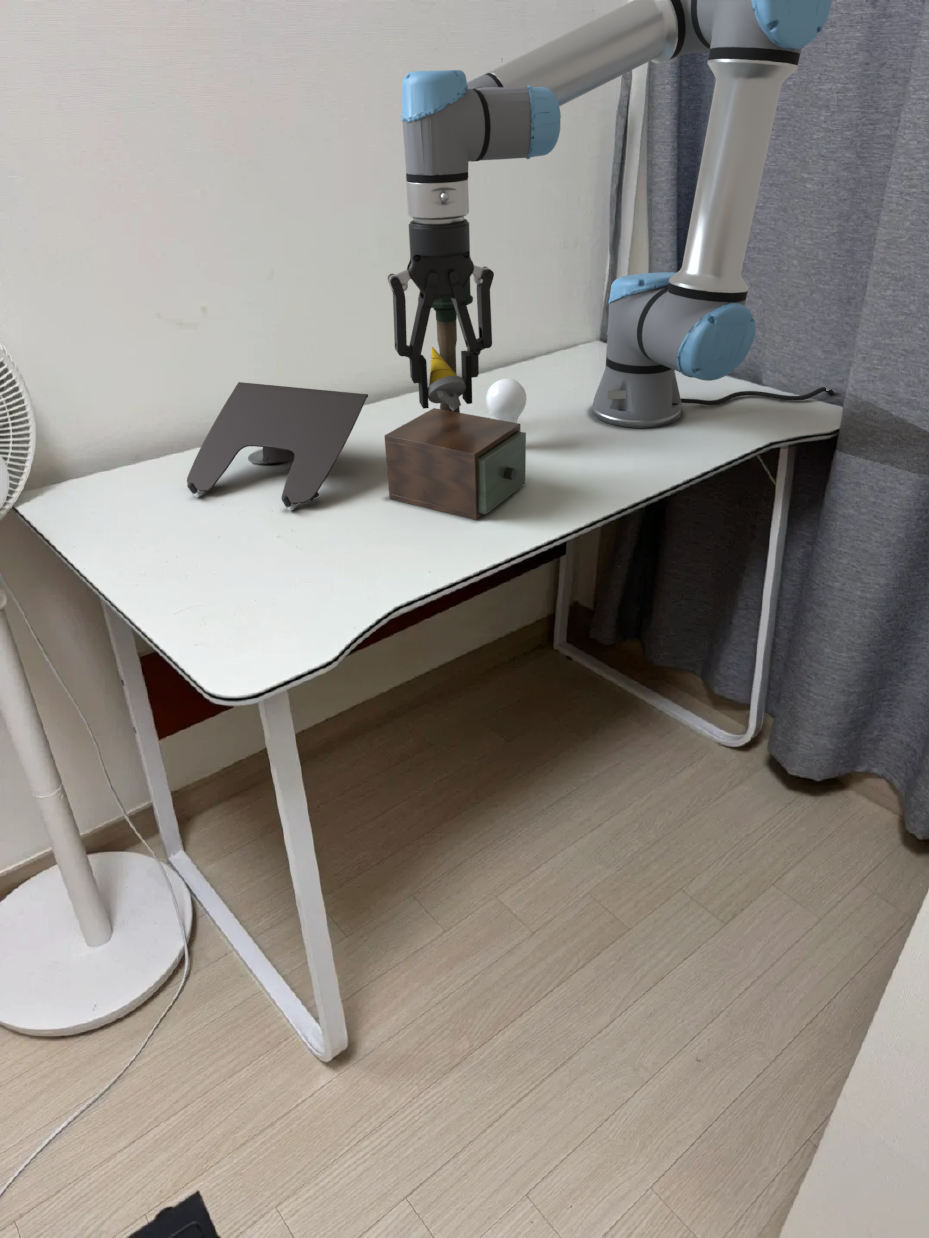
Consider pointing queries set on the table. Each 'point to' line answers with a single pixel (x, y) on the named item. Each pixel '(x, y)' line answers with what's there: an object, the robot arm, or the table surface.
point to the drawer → (501, 471)
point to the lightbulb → (506, 400)
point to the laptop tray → (279, 435)
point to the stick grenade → (448, 331)
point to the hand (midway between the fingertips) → (445, 402)
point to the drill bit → (444, 383)
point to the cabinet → (442, 459)
